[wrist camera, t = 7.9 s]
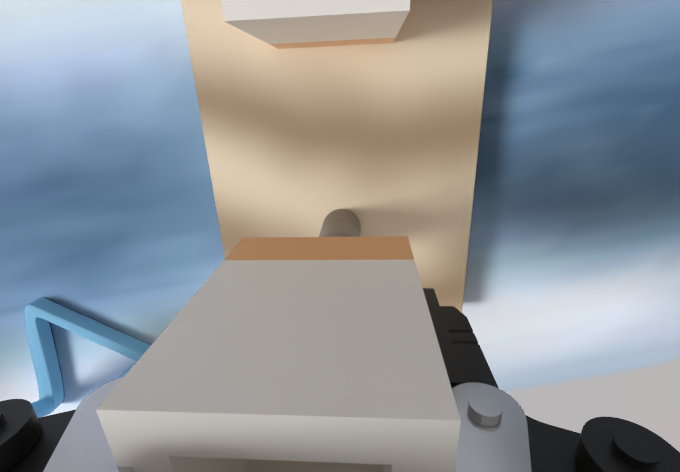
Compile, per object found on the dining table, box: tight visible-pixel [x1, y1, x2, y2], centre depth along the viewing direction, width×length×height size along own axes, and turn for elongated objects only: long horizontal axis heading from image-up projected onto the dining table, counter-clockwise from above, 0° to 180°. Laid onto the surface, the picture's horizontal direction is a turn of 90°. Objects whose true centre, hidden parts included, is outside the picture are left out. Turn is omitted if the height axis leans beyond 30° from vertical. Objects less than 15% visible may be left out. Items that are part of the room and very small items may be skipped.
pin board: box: [181, 0, 493, 313], centre depth 13 cm, size 20×12×8 cm, turn 2°
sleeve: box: [96, 236, 461, 472], centre depth 8 cm, size 5×5×6 cm
